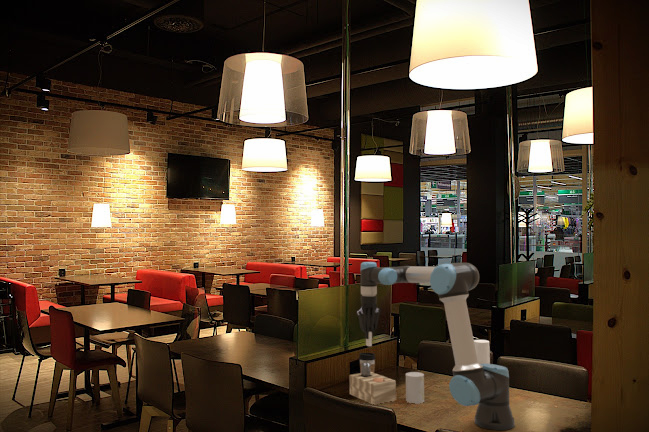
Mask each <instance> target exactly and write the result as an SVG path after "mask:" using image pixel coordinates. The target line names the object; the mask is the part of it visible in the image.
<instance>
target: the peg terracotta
mask: <svg viewBox="0 0 649 432" xmlns="http://www.w3.org/2000/svg"><path fill="white" fill-rule="evenodd" d="M374 381H375V382H382V381H383V378H374Z"/></svg>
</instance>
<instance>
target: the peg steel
mask: <svg viewBox="0 0 649 432" xmlns="http://www.w3.org/2000/svg"><path fill="white" fill-rule="evenodd" d="M360 373H361V376H362V377H370V376H371V372H370V362H361V371H360Z"/></svg>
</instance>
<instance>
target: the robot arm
mask: <svg viewBox="0 0 649 432" xmlns="http://www.w3.org/2000/svg"><path fill="white" fill-rule="evenodd" d="M377 265H378V264H377V262H375V261H363V262H361V263H360V304H361V305H360V309H359V310H356V311H355V312H356V315H357V317H358V321H359V327H360V331H362V332H364V339H365V346H367V347H372V346H373V339H374V333H375V331H376V330H377V329H378V323H379V319H380V314H381V312H382V310H381V309H380V308H378V307H377V306H378V305H377V303H378V296H377V295H378V288H377V287H378V286H377V285H378V284H380V285H384V286H391V285H394V284H402V283H405V284H408V283H409V284H410V283H411V284H428V285H430V288H431V289H432V291H433V292H434V293H435V294H437V295H438V300H439V301H440V302H442V303H443V305H444V311H445V317H446V321H447V327H448V332H449V337H450V342H451V343H450V344H451V348H452V354H453V358H454V366H453V369H452V375H453V376H452V378H451V379H450V381H449V383H448V385H449V387H448V388H449V392H450V394H451V396H452V398H453V399H454V400H455V401H456V402H457V404H460V406H462V407H463V406H464V407H472V406H477V408H476V412H475V415H474V424H475V425H476V426H478V427H480V428H482V429H486V430H489V431H491V430H492V431H507V430H512V429H513V428H514V427H515V426H516V425H515V423H516V422H515V418H514V417H513V412H512V409H511V406H510V374H509V370H508V367H506V366H503V365H498V364H493V363H490V364H480V363H479V362H478V360H477V354H476V349H475V344H474V340H475V339H474V336H473V330H472V325H471V320H470V314H469V310H468V305H467V298H469V295H470V294H469V291H471V290H473V289H475V288H476V287H477V285H478V284H479V282H480V273H479V270H478V268H477V267H476V266H475V265H473V264H472V263H470V262H447V263H443V264H439V265H436V266H416V265H415V266H410V265H404V266H403V265H402V266H391V267H390V266H387V267H380V266H377Z"/></svg>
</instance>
